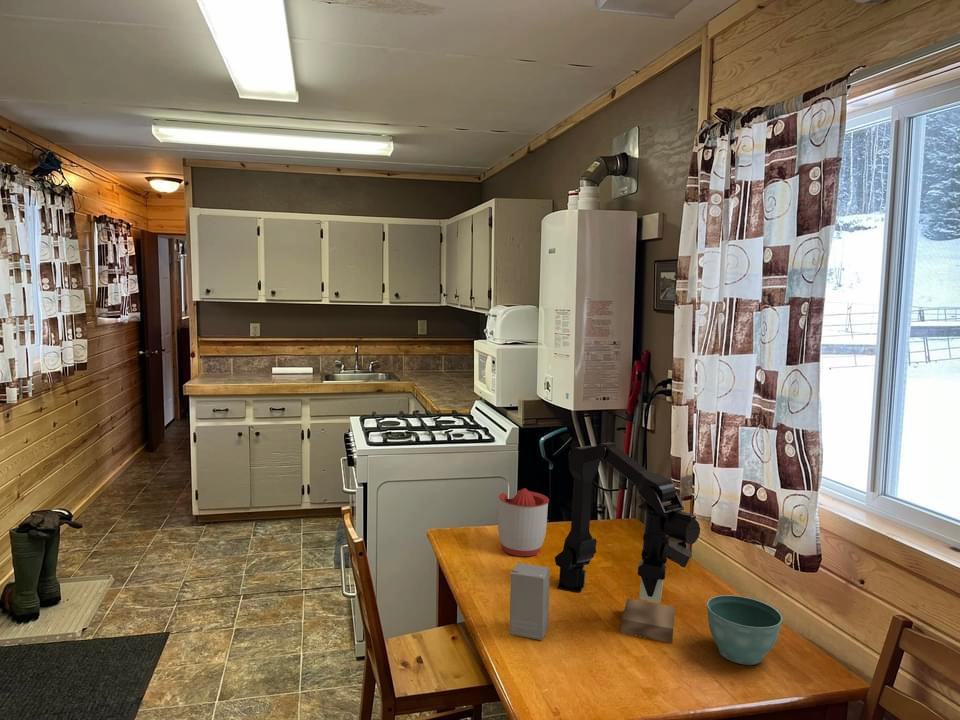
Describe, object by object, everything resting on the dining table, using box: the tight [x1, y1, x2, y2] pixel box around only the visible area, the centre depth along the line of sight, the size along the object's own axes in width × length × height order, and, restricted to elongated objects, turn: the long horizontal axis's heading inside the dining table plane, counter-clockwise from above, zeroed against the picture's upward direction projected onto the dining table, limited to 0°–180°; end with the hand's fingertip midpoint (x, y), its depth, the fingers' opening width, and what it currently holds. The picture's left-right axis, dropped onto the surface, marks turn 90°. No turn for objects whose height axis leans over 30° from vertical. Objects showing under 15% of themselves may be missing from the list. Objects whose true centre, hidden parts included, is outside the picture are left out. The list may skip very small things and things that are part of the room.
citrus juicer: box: [497, 487, 550, 558], centre depth 214 cm, size 16×17×20 cm
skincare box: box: [509, 562, 551, 641], centre depth 162 cm, size 8×7×16 cm
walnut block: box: [620, 598, 676, 644], centre depth 169 cm, size 12×12×4 cm
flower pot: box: [706, 594, 783, 666], centre depth 158 cm, size 16×16×11 cm
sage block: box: [638, 577, 664, 604], centre depth 168 cm, size 5×5×6 cm
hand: (650, 591), depth 168 cm, fingers closed on sage block, 5 cm apart
